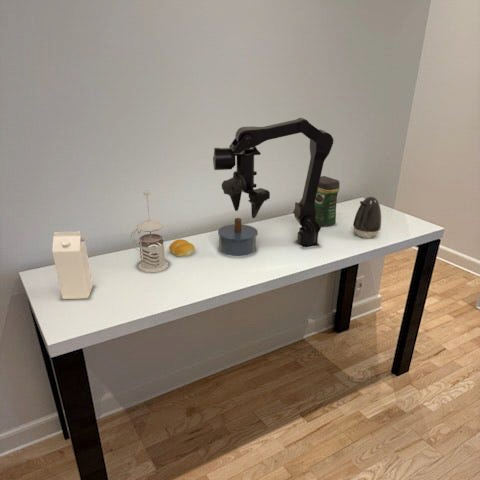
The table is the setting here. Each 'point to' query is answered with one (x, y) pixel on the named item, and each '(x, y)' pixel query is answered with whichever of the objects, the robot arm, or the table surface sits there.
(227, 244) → the pot
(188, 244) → the bread roll
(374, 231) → the dark grey rounded figure
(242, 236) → the pot lid
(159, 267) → the french press
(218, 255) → the table surface
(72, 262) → the milk carton
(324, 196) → the coffee jar
